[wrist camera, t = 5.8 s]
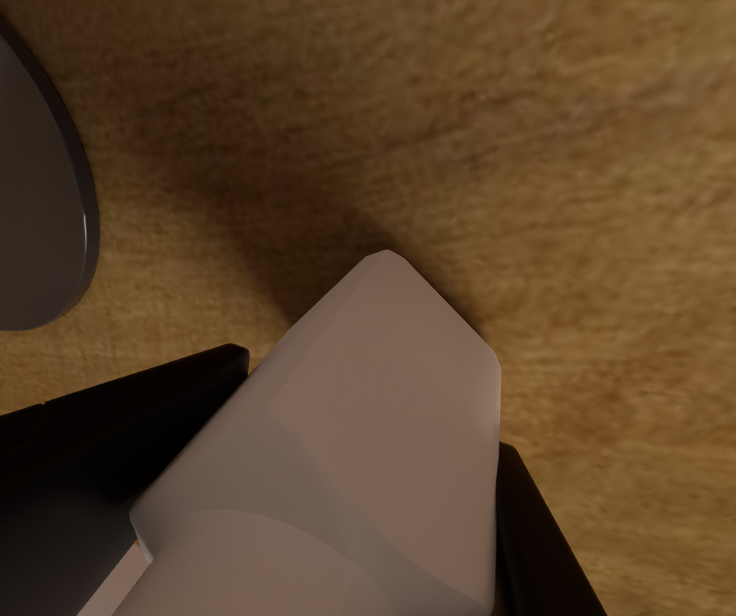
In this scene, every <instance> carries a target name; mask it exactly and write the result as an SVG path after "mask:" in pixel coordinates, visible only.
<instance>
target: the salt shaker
mask: <svg viewBox="0 0 736 616" xmlns="http://www.w3.org/2000/svg"><path fill="white" fill-rule="evenodd" d="M500 394H501V367H500V365H499V362H498V359H497V357H496V354H495V352H494V351H493V350H492V349H491V347H490V346H489V345H488V344H487V343H486V342H485V341H484V340H483V339H482V338H481V337H480V336H479V335H478V334H477V333H476V332H475V331H474V330H473V329H472V328H471V327H470V326H469V325H468V324H467V323H466V322H465V321H464V320H463V319H462V317H461V316H460V315H459V314H458V313H457V312H456V311H455V310H454V309H453V308H452V307H451V306H450V305H449V304H448V303H447V302H446V301H445V300H444V299H443V298H442V297H441V296H440V295H439V294H438V293H437V292H436V291H435V290H434V289H433V287H432V286H431V285H430V284H429V283H428V282H427V281H426V280H425V279H424V278H423V277H422V276H421V275H420V274H419V273H418V272H417V271H416V270H415V269H414V268H413V267H412V266H411V265H410V264H409V263H408V262H407V261H406V260H405V259H404V258H403V257H401V256H400V255H398V254H396V253H394V252H392V251H391V250H383V251H380V252H377V253H374V254H371V255H368V256H366V257H365V258H364V259H363V260H361V261H360V262H359V263H358V264H357V265H356V266H355V267H354V268H353V269H352V270H351V271H350V272H349V273H348V274H347V275H346V276H345V277H344V278H343V279H341V280H340V281H339V282H338V283H337V284H336V285H335V286H334V287H333V288H332V289H331V290H330V291H329V292H328V293H327V294H326V295H325V296H324V297H323V298H322V299H320V300H319V301H318V302H317V303H316V304H315V305H314V306H313V307H312V308H311V309H310V310H309V311H308V312H307V313H306V314H305V315H304V316H303V317H302V318H301V319H300V320H298V321H297V322H296V323H295V324H294V325H293V326H292V327H291V328H290V329H289V330H288V331H287V333H286V334H285V335H284V336H283V337H282V338H281V339H280V340H279V341H278V343H277V344H276V345H275V346H274V347H273V348H272V349H271V350H270V352H269V353H268V354H267V355H266V356H265V357H264V358H263V359H262V361H261V362H260V363H259V364H258V365H257V366H256V367H255V368H254V369H253V371H252V372H251V373H250V374H249V375H248V376H247V377H246V378H245V380H244V381H243V382H242V383H241V384H240V385H239V386H238V387H237V389H236V390H235V391H234V392H233V393H232V394H231V395H230V396H229V397H228V399H227V400H226V401H225V402H224V403H223V404H222V405H221V406H220V408H219V409H218V410H217V411H216V412H215V413H214V414H213V415H212V417H211V418H210V419H209V420H208V421H207V422H206V423H205V424H204V425H203V427H202V428H201V429H200V430H199V431H198V432H197V433H196V434H195V436H194V437H193V438H192V439H191V440H190V441H189V442H188V443H187V444H186V446H185V447H184V448H183V449H182V450H181V451H180V452H179V453H178V455H177V456H176V457H175V458H174V459H173V460H172V461H171V462H170V464H169V465H168V466H167V467H166V468H165V469H164V470H163V471H162V472H161V474H160V475H159V476H158V477H157V478H156V479H155V480H154V481H153V483H152V484H151V485H150V486H149V487H148V488H147V489H146V490H145V492H144V493H143V494H142V495H141V496H140V497H139V498H138V499H137V500H136V502H135V503H134V504H133V506H132V508H131V510H130V511H129V516H130V521H131V523H132V525H133V527H134V529H135V532H136V535H137V538H138V541H139V544H140V547H141V550H142V553H143V556H144V558H145V559H146V561H147V562H148V563H149V566H148V568H147V569H146V570H145V572H144V573H143V574H142V576H141V577H140V578H139V580H138V581H137V582H136V584H135V585H134V586H133V588H132V589H131V590H130V592H129V593H128V594H127V596H126V597H125V599H124V600H123V601H122V602H121V604H120V605H119V607H118V608H117V609H116V611H115V612H114V613H113V615H112V616H491V613H492V610H493V607H494V598H495V564H496V530H497V518H496V475H497V466H498V459H499V428H500Z"/></svg>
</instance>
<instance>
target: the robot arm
mask: <svg viewBox="0 0 736 616" xmlns="http://www.w3.org/2000/svg"><path fill="white" fill-rule="evenodd" d="M249 359H250V353H249V350H248V349H246V348H244V347H241V346H238V345H236V344H232V343H228V344H225V345H222V346H218V347H215V348H212V349H209V350H206V351H203V352H200V353H197V354H193V355H190V356H187V357H184V358H181V359H178V360H175V361H172V362H168V363H165V364H162V365H159V366H156V367H153V368H150V369H146V370H143V371H140V372H137V373H134V374H131V375H128V376H125V377H121V378H118V379H115V380H112V381H109V382H106V383H103V384H99V385H96V386H93V387H90V388H87V389H84V390H81V391H78V392H74V393H71V394H68V395H65V396H62V397H59V398H56V399H52V400H49V401H46V402H45V403H44V405H43V404H36V405H33V406H30V407H27V408H24V409H21V410H18V411H14V412H11V413H8V414H4V415H1V416H0V616H77V614H78V613H79V612H80V611H81V609H82V608H83V607H84V606H85V604H86V603H87V602H88V601H89V599H90V598H91V597H92V596H93V594H94V593H95V592H96V591H97V589H98V588H99V587H100V585H101V584H102V583H103V582H104V580H105V579H106V578H107V576H108V575H109V574H110V573H111V571H112V570H113V569H114V568H115V566H116V565H117V564H118V563H119V561H120V560H121V559H122V558H123V556H124V555H125V554H126V553H127V551H128V550H129V549H130V547H131V546H132V545H133V544H134V542H135V541H136V540H137V539H138V538H137V535H136V532H135V529H134V527H133V525H132V523H131V521H130V516H129V511H130V510H131V508H132V506H133V504H134V503H135V502H136V500H137V499H138V498H139V497H140V496H141V495H142V494H143V493H144V492H145V490H146V489H147V488H148V487H149V486H150V485H151V484H152V483H153V481H154V480H155V479H156V478H157V477H158V476H159V475H160V474H161V472H162V471H163V470H164V469H165V468H166V467H167V466H168V465H169V464H170V462H171V461H172V460H173V459H174V458H175V457H176V456H177V455H178V453H179V452H180V451H181V450H182V449H183V448H184V447H185V446H186V444H187V443H188V442H189V441H190V440H191V439H192V438H193V437H194V436H195V434H196V433H197V432H198V431H199V430H200V429H201V428H202V427H203V425H204V424H205V423H206V422H207V421H208V420H209V419H210V418H211V417H212V415H213V414H214V413H215V412H216V411H217V410H218V409H219V408H220V406H221V405H222V404H223V403H224V402H225V401H226V400H227V399H228V397H229V396H230V395H231V394H232V393H233V392H234V391H235V390H236V389H237V387H238V386H239V385H240V384H241V383H242V382H243V381H244V380H245V378H246V377H247V376H248V368H249ZM496 518H497V530H496V564H495V598H494V607H493V610H492V613H491V616H607V614H606V612H605V610H604V608H603V607H602V605H601V603H600V601H599V599H598V597H597V596H596V594H595V592H594V590H593V588H592V587H591V585H590V583H589V581H588V579H587V577H586V576H585V574H584V572H583V570H582V568H581V567H580V565H579V563H578V561H577V559H576V557H575V556H574V554H573V552H572V550H571V548H570V546H569V545H568V543H567V541H566V539H565V537H564V536H563V534H562V532H561V530H560V528H559V526H558V525H557V523H556V521H555V519H554V517H553V516H552V514H551V512H550V510H549V508H548V506H547V505H546V503H545V501H544V499H543V497H542V496H541V494H540V492H539V490H538V488H537V486H536V485H535V483H534V481H533V479H532V477H531V475H530V474H529V472H528V470H527V468H526V466H525V465H524V463H523V461H522V459H521V457H520V455H519V454H518V452H517V450H516V449H515V448H514V447H513V446H511V445H509V444H506V443H503V442H500V441H499V459H498V466H497V475H496Z"/></svg>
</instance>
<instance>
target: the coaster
mask: <svg viewBox="0 0 736 616" xmlns="http://www.w3.org/2000/svg"><path fill="white" fill-rule="evenodd" d="M99 242H100V226H99V211H98V205H97V198H96V192H95V187H94V183H93V179H92V176H91V172H90V168H89V164H88V161H87V158H86V155H85V153H84V150H83V147H82V145H81V142H80V139H79V136H78V134H77V131H76V129H75V127H74V125H73V123H72V121H71V119H70V117H69V114H68V112H67V110H66V108H65V106H64V104H63V102H62V100H61V99H60V97H59V95H58V93H57V92H56V90H55V88H54V86H53V85H52V83H51V81H50V79H49V78H48V76H47V75H46V73H45V72H44V70H43V69H42V67H41V66H40V64H39V63H38V61H37V60H36V59H35V57H34V56H33V54H32V53H31V51H30V50H29V48H28V47H27V46H26V45H25V43H24V42H23V41H22V40H21V39H20V37H19V36H18V35H17V34H16V32H15V31H14V30H13V29H12V28H11V26H10V25H9V24H8V23H7V22H6V21H5V20H4V18H3V17H2V16H1V15H0V331H25V330H32V329H36V328H39V327H42V326H44V325H47V324H49V323H51V322H53V321H55V320H57V319H58V318H60V317H62V316H63V315H65V314H66V313H68V312H69V311H70V310H71V309H73V308H74V307H75V306H76V305H77V304H78V303H79V301H80V300H81V298H82V297H83V295H84V294H85V293H86V291H87V290H88V288H89V285H90V283H91V280H92V278H93V276H94V273H95V268H96V264H97V260H98V254H99Z"/></svg>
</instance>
